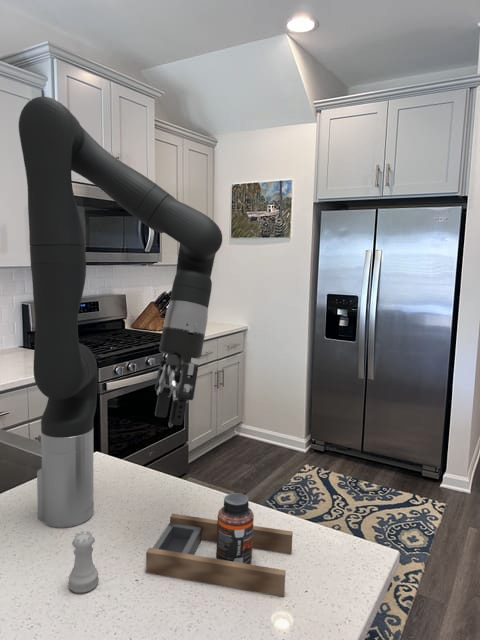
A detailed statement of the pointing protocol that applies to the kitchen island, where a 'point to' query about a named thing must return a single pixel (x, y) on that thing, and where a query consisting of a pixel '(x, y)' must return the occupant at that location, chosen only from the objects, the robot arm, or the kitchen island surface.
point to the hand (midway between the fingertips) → (167, 420)
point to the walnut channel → (220, 569)
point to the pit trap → (179, 539)
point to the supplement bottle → (235, 529)
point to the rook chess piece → (83, 564)
